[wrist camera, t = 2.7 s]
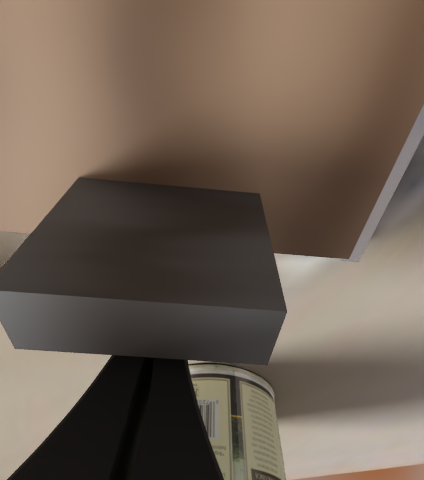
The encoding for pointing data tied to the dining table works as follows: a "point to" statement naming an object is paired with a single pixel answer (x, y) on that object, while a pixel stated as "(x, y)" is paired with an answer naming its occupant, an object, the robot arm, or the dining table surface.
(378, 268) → the dining table surface
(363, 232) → the rails
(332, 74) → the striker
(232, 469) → the coffee can
